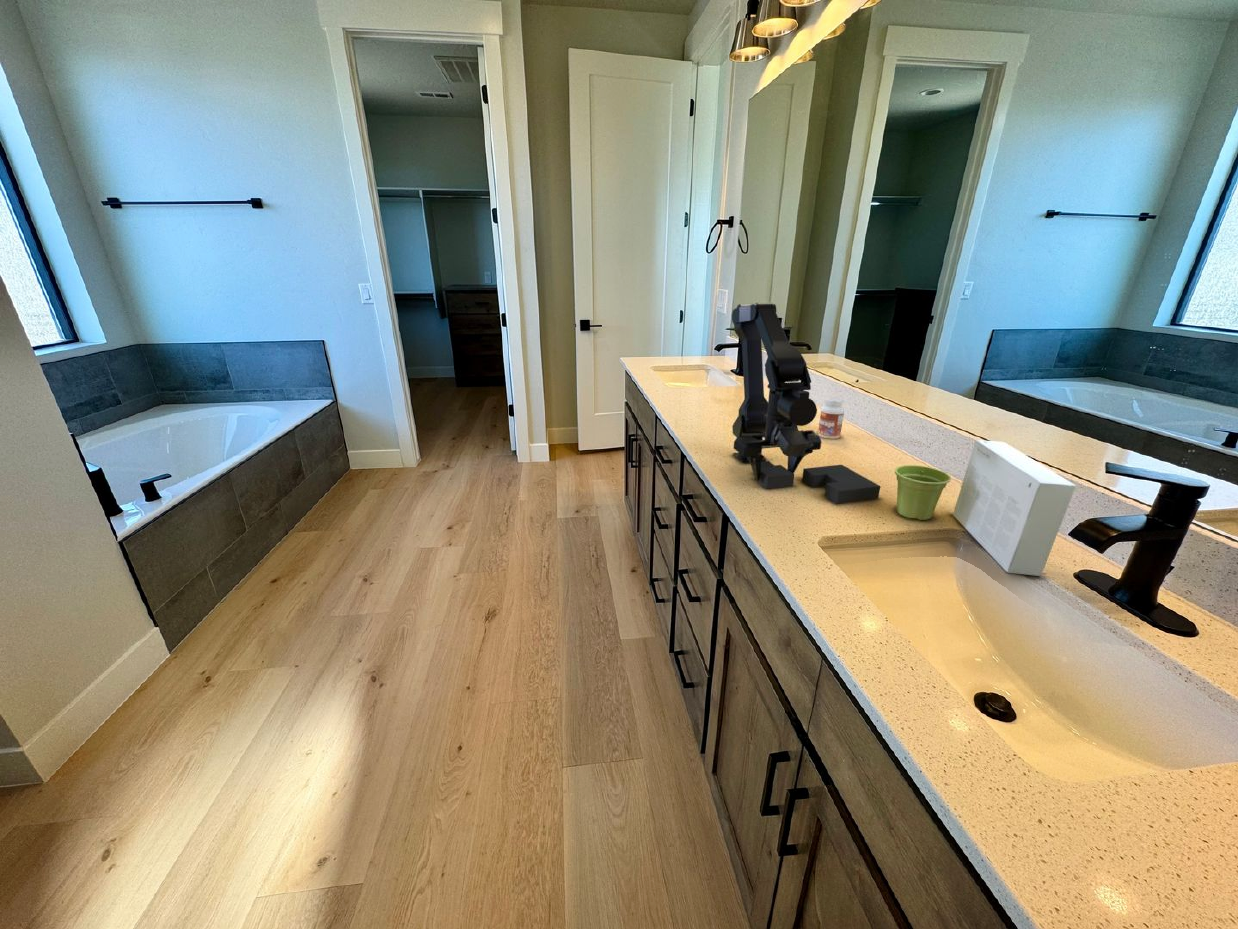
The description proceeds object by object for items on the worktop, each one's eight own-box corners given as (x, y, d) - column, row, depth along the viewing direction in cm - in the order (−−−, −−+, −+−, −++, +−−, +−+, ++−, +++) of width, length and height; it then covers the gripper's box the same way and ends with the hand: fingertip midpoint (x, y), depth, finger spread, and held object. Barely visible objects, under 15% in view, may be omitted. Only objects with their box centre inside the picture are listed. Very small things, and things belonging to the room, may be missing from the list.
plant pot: (876, 508, 100) (884, 469, 97) (908, 500, 104) (917, 461, 101) (918, 528, 92) (928, 486, 89) (952, 518, 96) (962, 477, 93)
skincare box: (1046, 578, 77) (1078, 485, 71) (1006, 574, 78) (1036, 483, 72) (982, 516, 96) (1004, 439, 91) (951, 514, 97) (971, 438, 92)
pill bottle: (813, 435, 145) (818, 398, 141) (825, 431, 149) (830, 395, 144) (832, 440, 140) (838, 402, 136) (844, 436, 144) (850, 399, 140)
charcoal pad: (801, 480, 114) (803, 468, 113) (839, 476, 116) (841, 464, 115) (836, 504, 102) (838, 491, 101) (878, 499, 104) (880, 486, 103)
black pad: (766, 489, 110) (768, 477, 109) (748, 474, 118) (749, 462, 117) (793, 486, 111) (794, 474, 110) (772, 471, 119) (774, 460, 118)
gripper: (759, 426, 98) (752, 497, 104) (841, 419, 102) (831, 488, 108) (735, 412, 108) (730, 477, 114) (810, 406, 112) (802, 469, 118)
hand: (773, 478), depth 113 cm, fingers open, 8 cm apart
